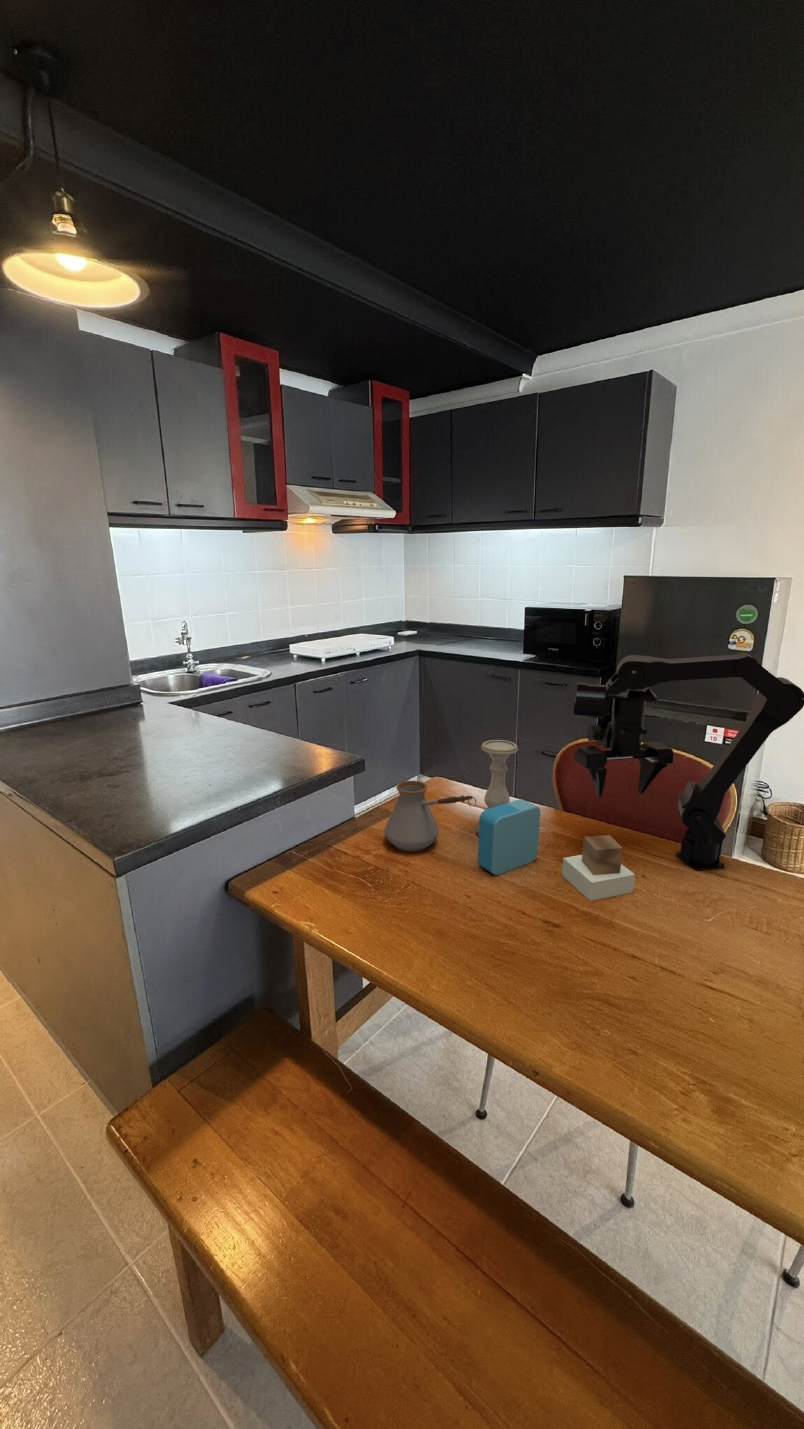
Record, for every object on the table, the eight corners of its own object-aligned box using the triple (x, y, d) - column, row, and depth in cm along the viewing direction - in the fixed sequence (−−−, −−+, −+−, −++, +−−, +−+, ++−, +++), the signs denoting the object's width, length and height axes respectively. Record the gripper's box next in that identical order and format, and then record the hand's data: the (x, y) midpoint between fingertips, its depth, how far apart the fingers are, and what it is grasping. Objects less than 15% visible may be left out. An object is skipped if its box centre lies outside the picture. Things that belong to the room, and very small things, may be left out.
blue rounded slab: (521, 851, 120) (524, 797, 117) (537, 860, 117) (541, 804, 114) (476, 867, 114) (479, 810, 111) (492, 877, 110) (495, 819, 107)
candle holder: (471, 825, 132) (474, 739, 127) (509, 823, 133) (513, 738, 127) (480, 843, 124) (484, 752, 118) (520, 841, 124) (526, 751, 119)
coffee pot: (373, 843, 123) (372, 777, 120) (409, 825, 132) (409, 762, 128) (453, 880, 110) (455, 806, 106) (488, 857, 118) (491, 788, 114)
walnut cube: (607, 859, 110) (609, 835, 109) (619, 873, 105) (622, 848, 104) (581, 860, 109) (584, 836, 108) (593, 875, 105) (595, 849, 103)
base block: (602, 869, 114) (603, 850, 113) (632, 894, 106) (635, 874, 105) (561, 876, 112) (563, 857, 110) (590, 902, 103) (592, 882, 102)
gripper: (647, 708, 123) (639, 777, 128) (564, 712, 120) (559, 783, 124) (680, 722, 113) (670, 797, 117) (591, 727, 110) (584, 804, 114)
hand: (619, 794), depth 118 cm, fingers open, 9 cm apart
